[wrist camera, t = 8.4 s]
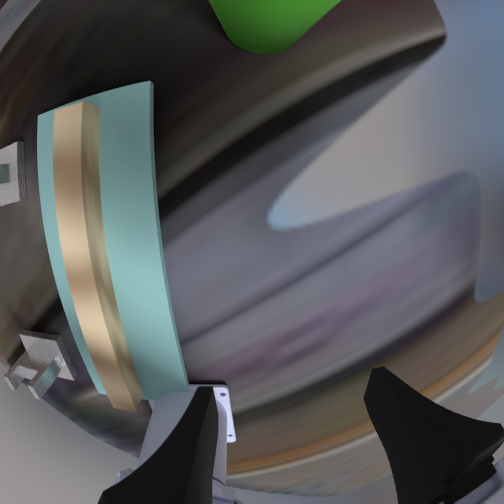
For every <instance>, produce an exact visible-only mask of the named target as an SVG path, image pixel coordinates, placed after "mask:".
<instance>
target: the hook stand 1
mask: <svg viewBox="0 0 504 504" xmlns="http://www.w3.org/2000/svg"><path fill="white" fill-rule="evenodd" d="M25 199H27V193H26V181H25V160H24V142H15V143H13V144H11V145H9V146H7V147H5V148H3V149H1V150H0V206H3V205H7V204H10V203H14V202H17V201H21V200H25Z"/></svg>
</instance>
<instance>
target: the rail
mask: <svg viewBox="0 0 504 504" xmlns="http://www.w3.org/2000/svg"><path fill="white" fill-rule="evenodd" d="M99 122H100V108H99V107H97V106H94V105H91V104H89V103H86V102H83V101H82V102H79V103H76V104H73V105H69V106H66V107H63V108H60V109H58V110H55V112H54V127H53V179H54V195H55V206H56V216H57V224H58V231H59V238H60V244H61V250H62V255H63V261H64V266H65V270H66V275H67V279H68V284H69V288H70V292H71V296H72V299H73V303H74V307H75V310H76V314H77V317H78V320H79V323H80V327H81V330H82V333H83V336H84V339H85V341H86V344H87V347H88V350H89V352H90V355H91V358H92V360H93V363H94V365H95V368H96V370H97V373H98V375H99V377H100V380H101V382H102V384H103V387H104V389H105V391H106V393H107V395H108V397H109V399H110V401H111V404H112V406H113V408H117V409H123V410H128V411H135V412H137V411H138V408H139V405H140V402H141V400H142V397H143V391H142V388H141V385H140V383H139V380H138V377H137V374H136V371H135V368H134V365H133V362H132V358H131V355H130V352H129V348H128V345H127V342H126V338H125V334H124V331H123V327H122V323H121V319H120V315H119V311H118V306H117V302H116V297H115V293H114V288H113V283H112V278H111V272H110V267H109V261H108V254H107V248H106V241H105V233H104V225H103V215H102V204H101V191H100V172H99Z"/></svg>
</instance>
